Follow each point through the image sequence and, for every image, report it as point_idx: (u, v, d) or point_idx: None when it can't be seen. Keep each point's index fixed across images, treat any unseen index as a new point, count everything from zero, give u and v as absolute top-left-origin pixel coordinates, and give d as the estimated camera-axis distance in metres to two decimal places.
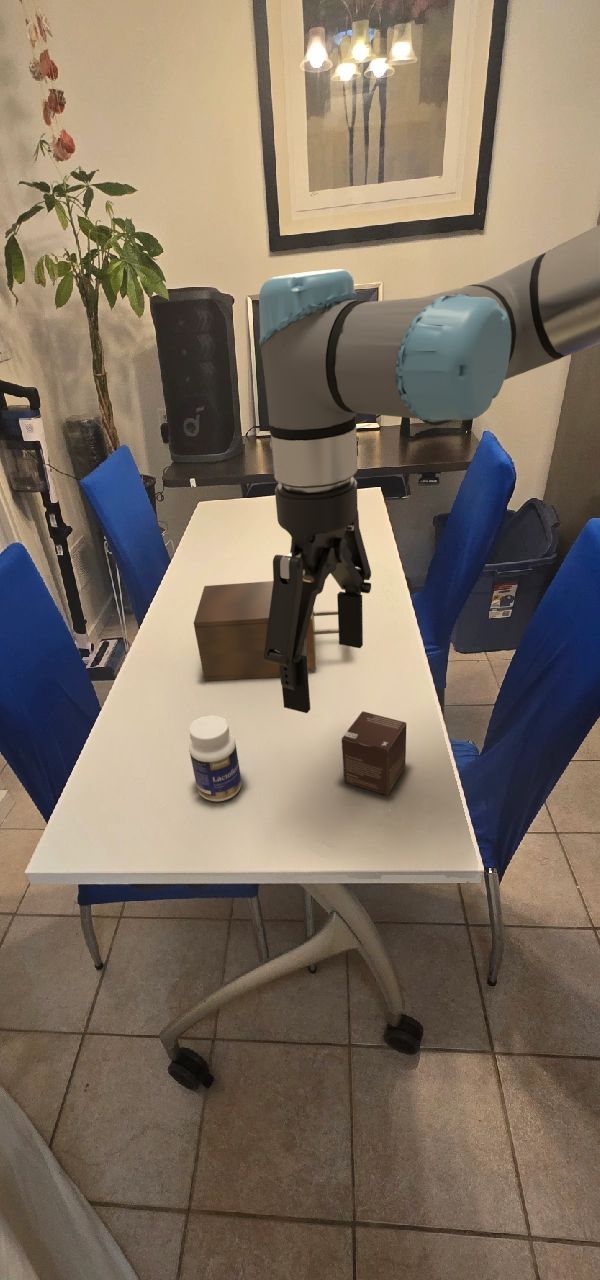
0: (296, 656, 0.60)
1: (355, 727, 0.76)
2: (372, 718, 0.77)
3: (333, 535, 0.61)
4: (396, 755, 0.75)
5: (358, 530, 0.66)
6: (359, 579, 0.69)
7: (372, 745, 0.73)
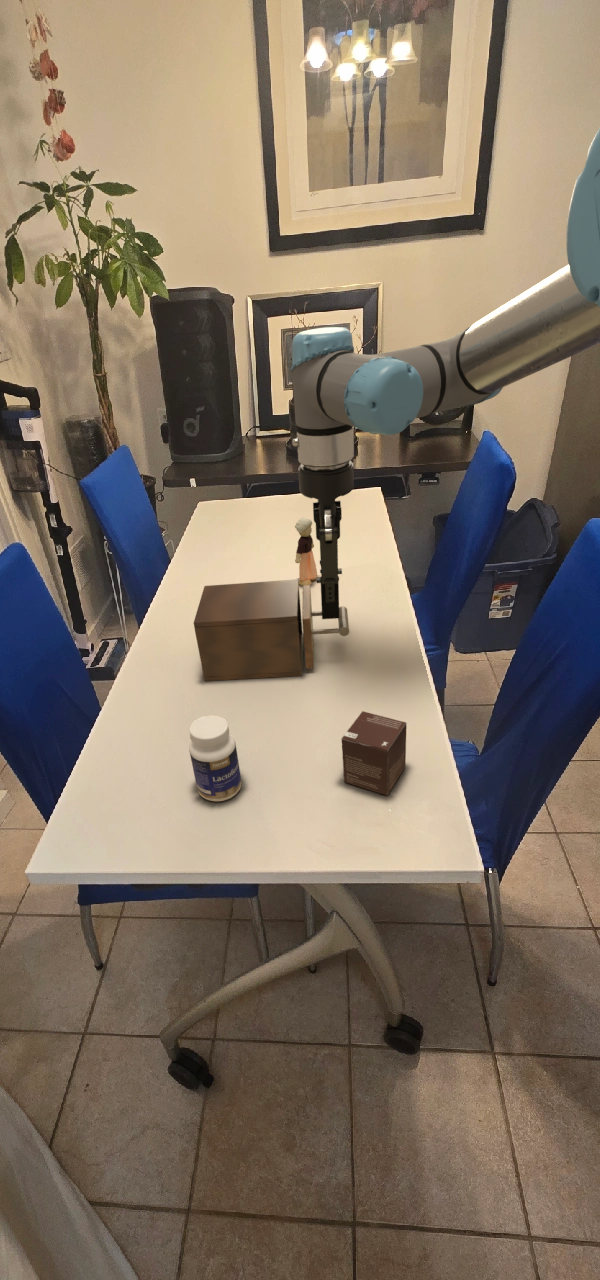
0: None
1: (355, 727, 0.76)
2: (372, 718, 0.77)
3: None
4: (396, 755, 0.75)
5: None
6: None
7: (372, 745, 0.73)
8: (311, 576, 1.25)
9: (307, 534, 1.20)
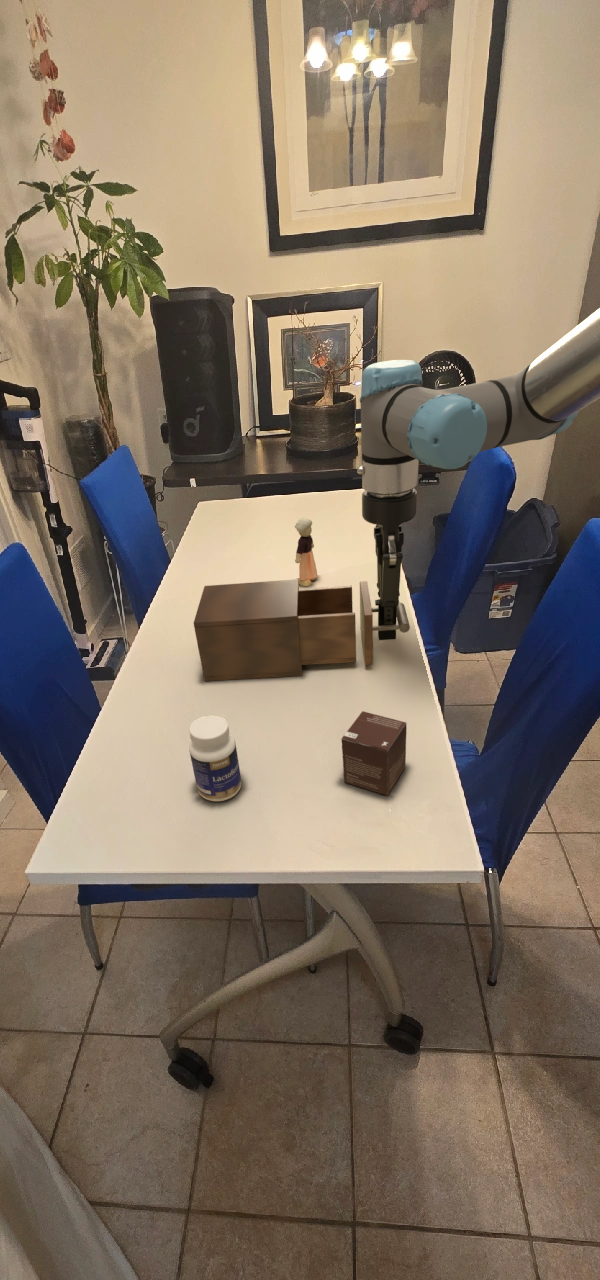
0: None
1: (355, 727, 0.76)
2: (372, 718, 0.77)
3: None
4: (396, 755, 0.75)
5: None
6: None
7: (372, 745, 0.73)
8: (311, 576, 1.25)
9: (307, 534, 1.20)
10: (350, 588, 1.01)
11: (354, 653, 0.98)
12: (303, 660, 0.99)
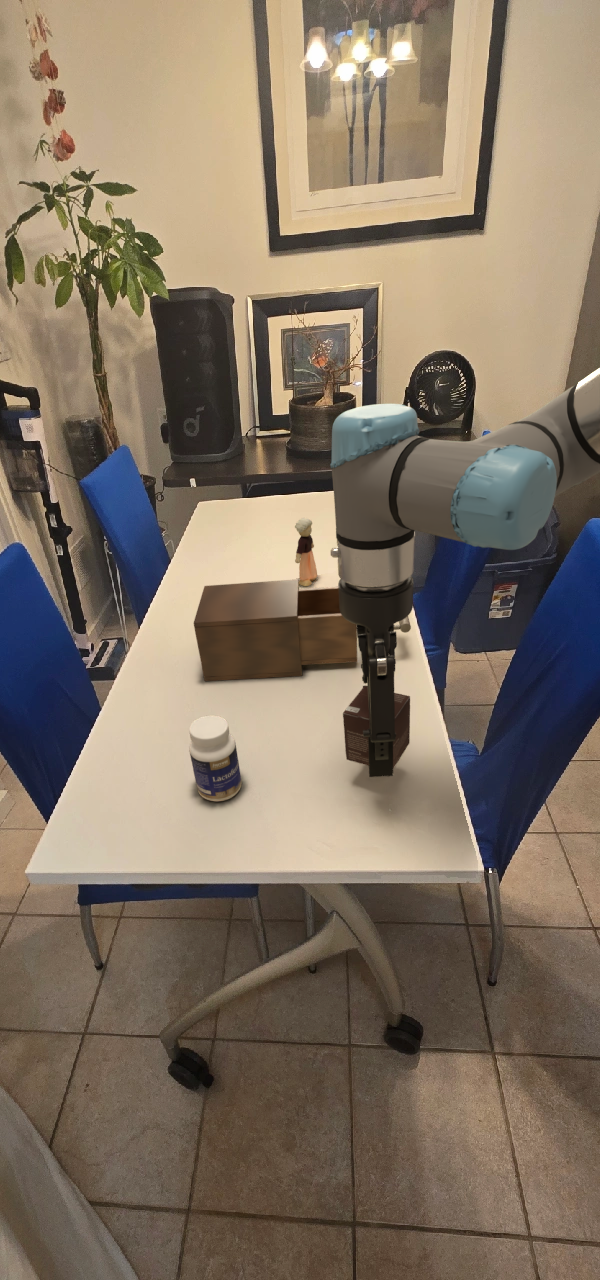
0: None
1: (357, 701, 0.74)
2: None
3: None
4: (400, 729, 0.73)
5: None
6: None
7: None
8: (311, 576, 1.25)
9: (307, 534, 1.20)
10: None
11: (355, 653, 0.98)
12: (304, 660, 0.99)
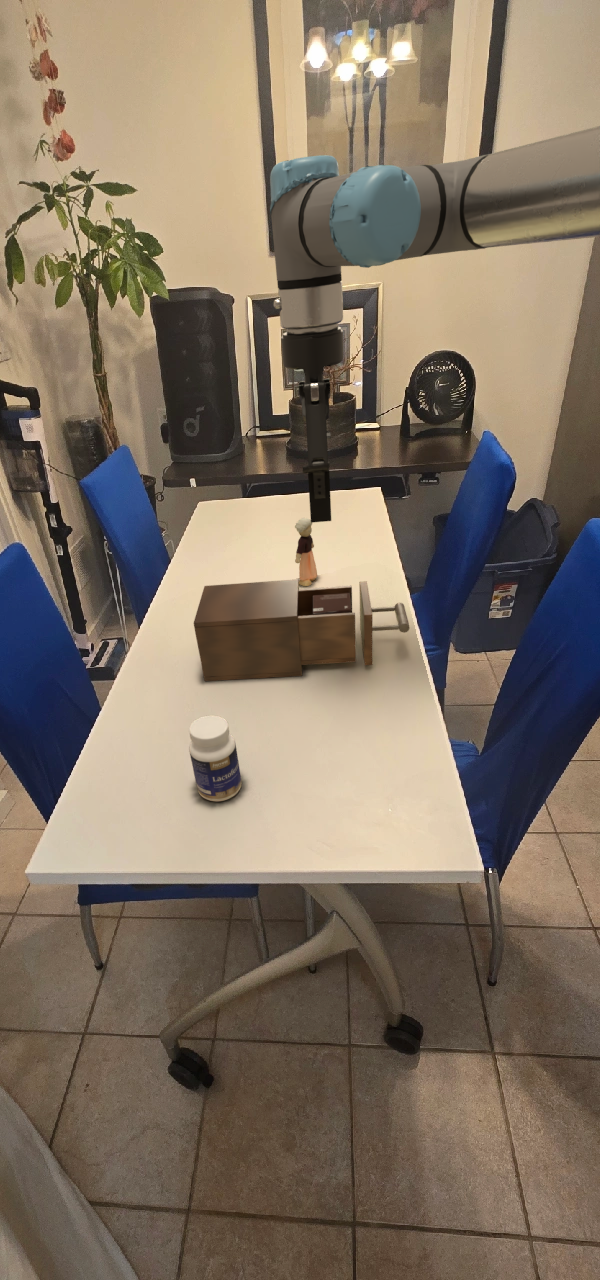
0: None
1: (317, 604, 0.98)
2: (323, 597, 1.00)
3: None
4: None
5: None
6: None
7: (338, 610, 0.96)
8: (311, 576, 1.25)
9: (307, 534, 1.20)
10: (350, 588, 1.02)
11: (354, 653, 0.98)
12: (303, 660, 0.99)
